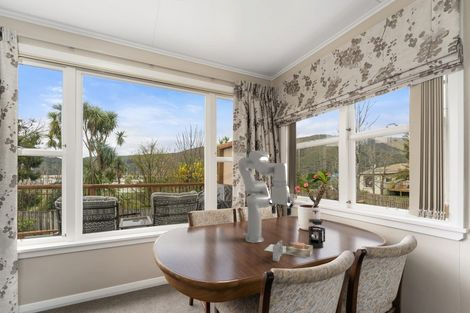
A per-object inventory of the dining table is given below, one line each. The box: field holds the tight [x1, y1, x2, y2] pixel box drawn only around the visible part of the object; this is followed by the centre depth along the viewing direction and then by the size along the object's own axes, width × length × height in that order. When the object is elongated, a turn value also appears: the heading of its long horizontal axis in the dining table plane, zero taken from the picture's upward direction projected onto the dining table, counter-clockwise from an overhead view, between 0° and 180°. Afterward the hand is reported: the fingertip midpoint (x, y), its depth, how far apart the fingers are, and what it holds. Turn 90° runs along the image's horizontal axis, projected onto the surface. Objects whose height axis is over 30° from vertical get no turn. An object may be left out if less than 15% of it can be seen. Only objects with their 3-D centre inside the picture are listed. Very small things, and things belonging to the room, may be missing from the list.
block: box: [294, 241, 305, 249], centre depth 141 cm, size 5×5×5 cm
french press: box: [307, 209, 326, 250], centre depth 153 cm, size 12×9×23 cm
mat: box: [264, 243, 311, 259], centre depth 143 cm, size 26×13×1 cm, turn 63°
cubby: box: [286, 241, 314, 258], centre depth 141 cm, size 14×11×4 cm
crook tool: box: [272, 240, 284, 262], centre depth 132 cm, size 3×12×8 cm, turn 153°
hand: (281, 214), depth 135 cm, fingers open, 9 cm apart
